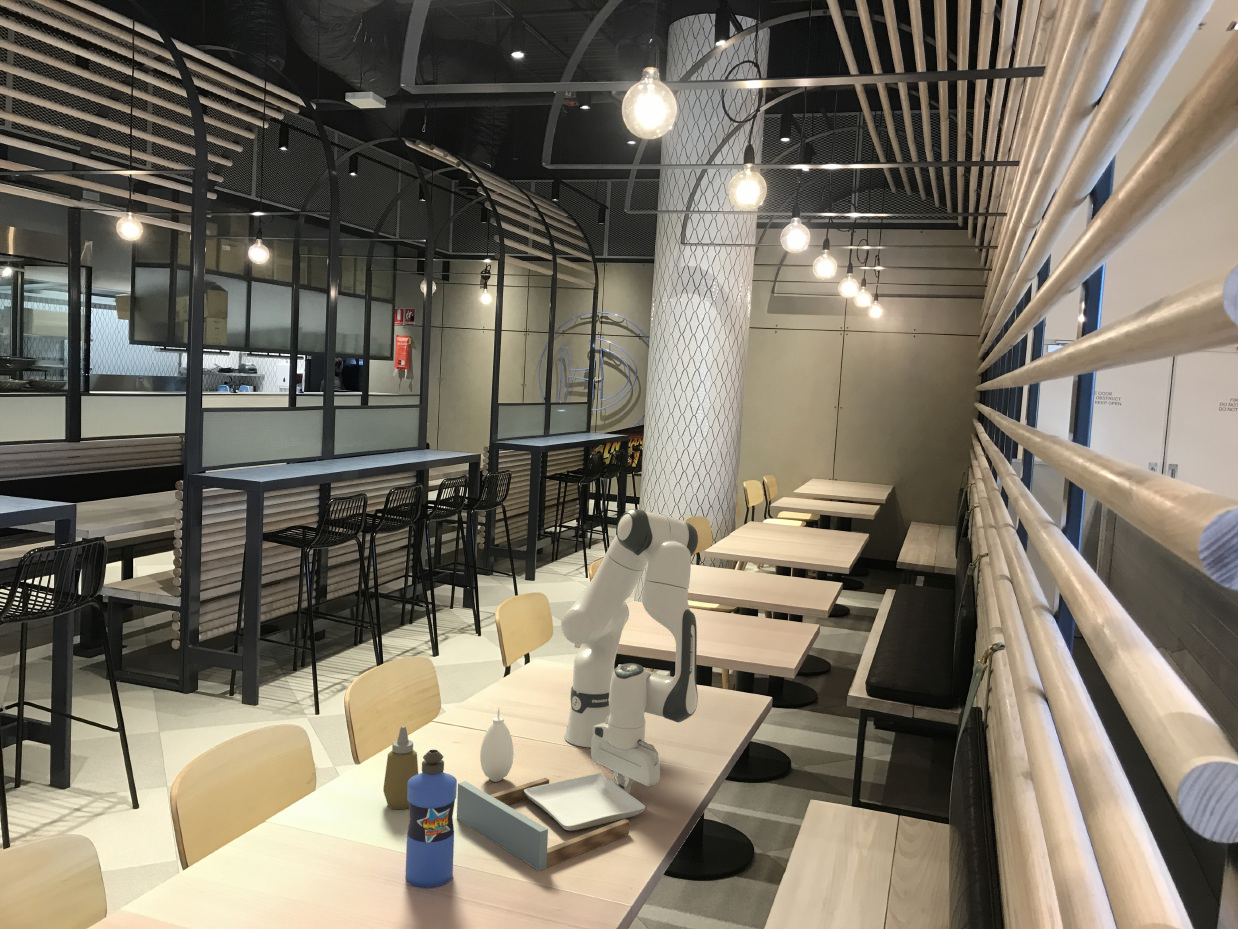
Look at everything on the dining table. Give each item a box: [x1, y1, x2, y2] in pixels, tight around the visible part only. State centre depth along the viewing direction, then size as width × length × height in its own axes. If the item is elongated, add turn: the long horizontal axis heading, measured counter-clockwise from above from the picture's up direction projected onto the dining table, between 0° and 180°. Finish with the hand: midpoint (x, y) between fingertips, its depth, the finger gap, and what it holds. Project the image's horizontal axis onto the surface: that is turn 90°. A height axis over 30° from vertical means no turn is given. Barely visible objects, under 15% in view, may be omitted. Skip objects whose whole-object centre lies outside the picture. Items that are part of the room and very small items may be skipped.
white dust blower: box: [479, 707, 515, 783], centre depth 231 cm, size 8×8×18 cm
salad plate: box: [524, 772, 647, 832], centre depth 217 cm, size 21×21×3 cm
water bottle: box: [405, 749, 458, 889], centre depth 184 cm, size 9×9×25 cm
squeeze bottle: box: [383, 725, 419, 810], centre depth 215 cm, size 8×8×18 cm
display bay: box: [456, 777, 630, 872], centre depth 208 cm, size 25×29×8 cm
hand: (623, 791), depth 225 cm, fingers closed
